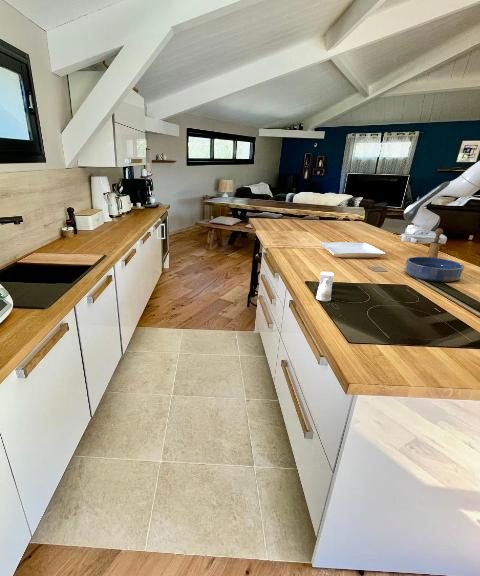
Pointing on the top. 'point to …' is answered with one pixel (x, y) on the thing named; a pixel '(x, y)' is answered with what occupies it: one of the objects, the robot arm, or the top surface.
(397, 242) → the top surface
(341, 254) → the square plate
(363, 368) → the top surface
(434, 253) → the mortar and pestle
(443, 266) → the bowl
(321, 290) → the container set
